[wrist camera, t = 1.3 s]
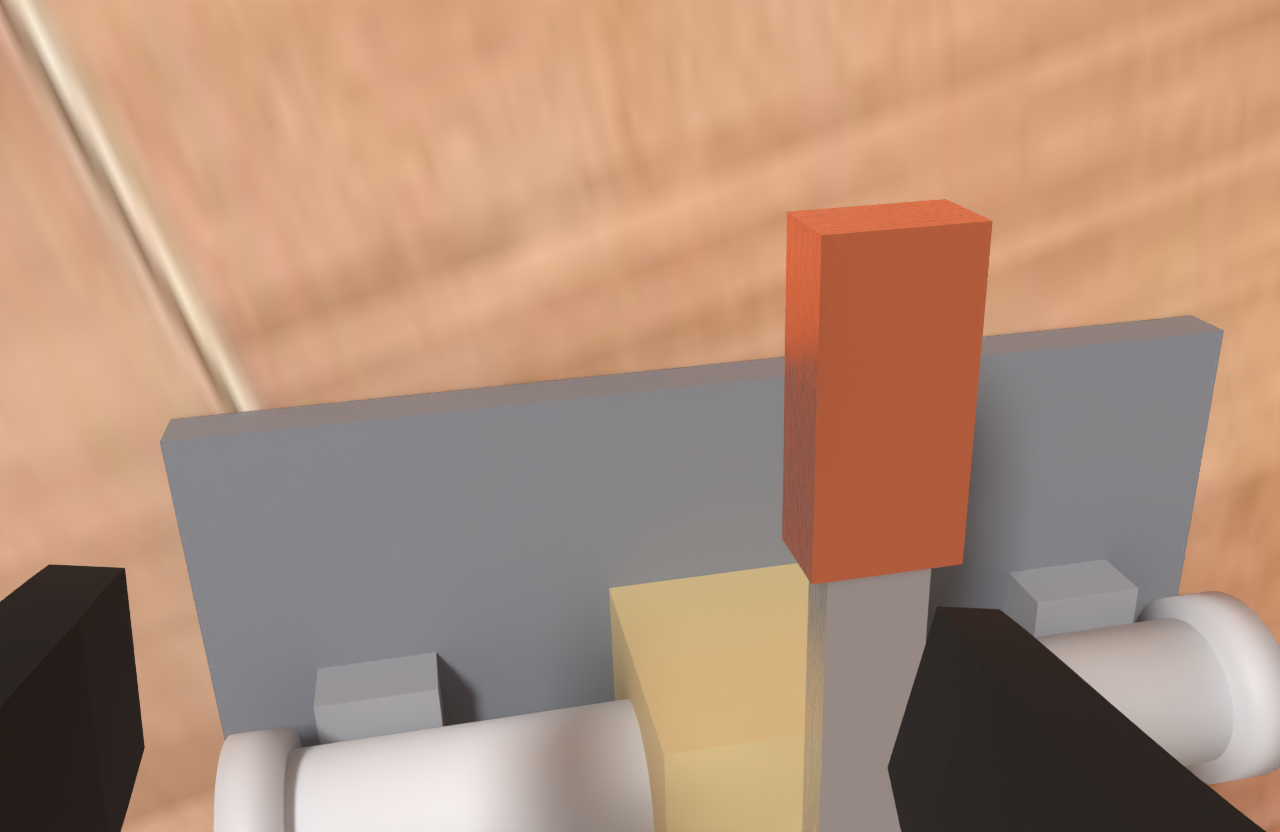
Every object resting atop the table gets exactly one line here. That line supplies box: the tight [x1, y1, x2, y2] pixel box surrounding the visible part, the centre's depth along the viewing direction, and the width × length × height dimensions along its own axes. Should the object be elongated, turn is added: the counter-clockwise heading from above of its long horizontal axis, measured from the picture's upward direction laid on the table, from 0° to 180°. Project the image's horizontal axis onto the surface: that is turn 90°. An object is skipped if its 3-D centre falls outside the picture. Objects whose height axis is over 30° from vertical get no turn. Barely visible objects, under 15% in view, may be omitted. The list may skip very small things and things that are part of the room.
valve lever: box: [782, 199, 992, 832], centre depth 15 cm, size 12×2×1 cm, turn 2°
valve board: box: [160, 316, 1280, 832], centre depth 21 cm, size 20×12×7 cm, turn 92°
